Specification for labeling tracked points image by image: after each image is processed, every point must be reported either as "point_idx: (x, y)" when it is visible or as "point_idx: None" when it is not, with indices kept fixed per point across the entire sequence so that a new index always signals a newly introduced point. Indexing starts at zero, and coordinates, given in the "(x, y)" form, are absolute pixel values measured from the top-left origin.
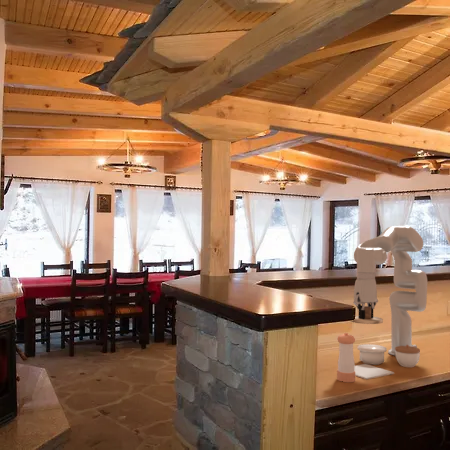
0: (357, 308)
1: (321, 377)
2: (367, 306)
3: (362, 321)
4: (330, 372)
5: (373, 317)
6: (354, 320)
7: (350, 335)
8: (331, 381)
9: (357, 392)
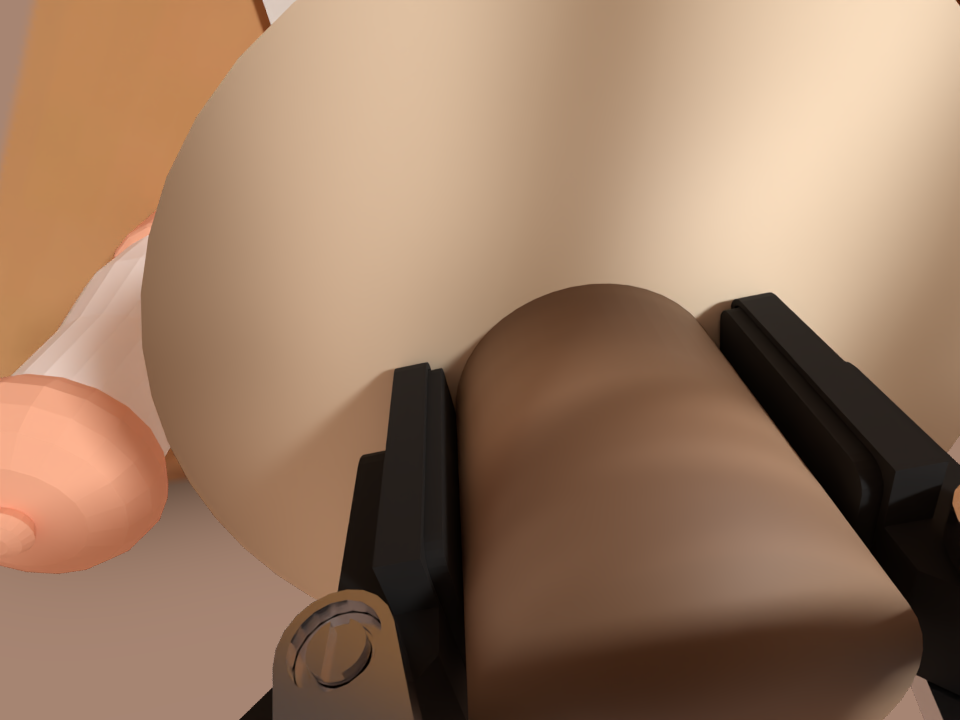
0: (281, 643)
1: (12, 146)
2: (867, 642)
3: (316, 586)
4: (144, 18)
5: (882, 342)
6: (196, 466)
7: (72, 545)
8: (76, 267)
9: (182, 479)
